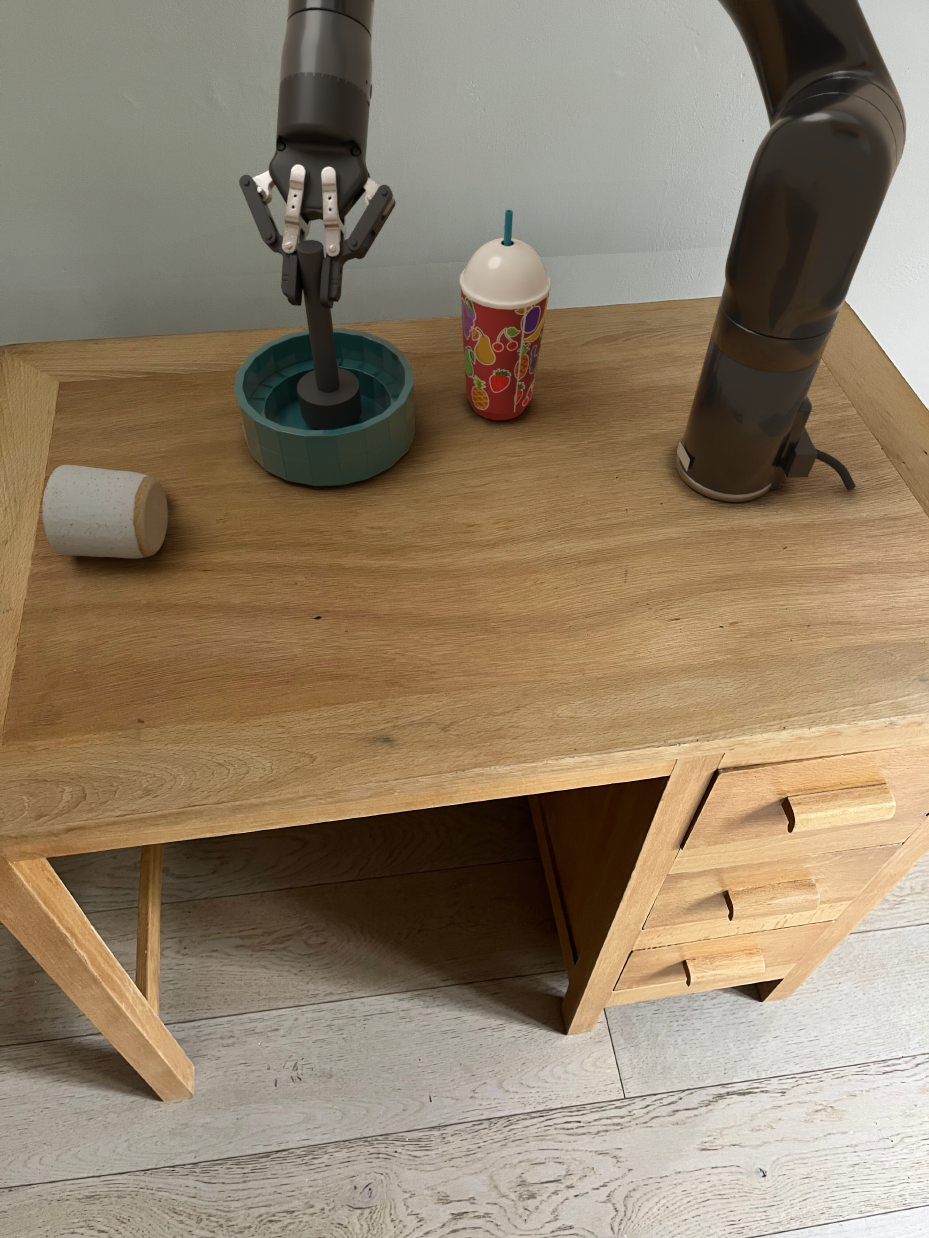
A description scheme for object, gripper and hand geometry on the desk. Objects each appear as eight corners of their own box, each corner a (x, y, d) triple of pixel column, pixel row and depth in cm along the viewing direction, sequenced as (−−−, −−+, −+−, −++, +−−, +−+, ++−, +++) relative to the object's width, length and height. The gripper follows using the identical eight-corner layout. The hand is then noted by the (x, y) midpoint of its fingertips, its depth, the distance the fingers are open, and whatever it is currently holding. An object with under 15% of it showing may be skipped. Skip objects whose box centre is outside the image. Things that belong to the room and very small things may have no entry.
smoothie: (555, 411, 88) (578, 218, 72) (488, 440, 85) (497, 246, 69) (507, 370, 92) (519, 180, 77) (442, 396, 89) (441, 204, 74)
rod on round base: (374, 411, 85) (360, 246, 72) (327, 438, 83) (304, 273, 69) (335, 384, 88) (315, 221, 75) (288, 410, 85) (259, 245, 72)
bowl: (413, 380, 91) (411, 326, 86) (417, 488, 81) (415, 433, 75) (255, 384, 90) (243, 329, 85) (238, 493, 80) (224, 438, 75)
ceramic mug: (157, 576, 73) (132, 510, 67) (62, 573, 73) (28, 507, 67) (187, 493, 80) (166, 426, 74) (99, 490, 80) (71, 423, 74)
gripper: (229, 63, 69) (216, 287, 71) (400, 73, 68) (382, 299, 70) (258, 108, 76) (245, 309, 78) (413, 118, 75) (396, 321, 77)
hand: (310, 304), depth 74 cm, fingers closed on rod on round base
